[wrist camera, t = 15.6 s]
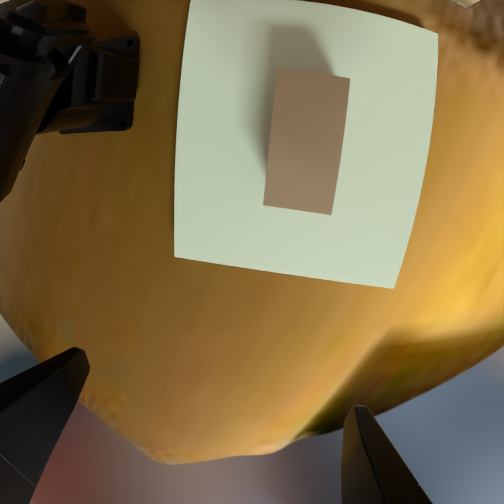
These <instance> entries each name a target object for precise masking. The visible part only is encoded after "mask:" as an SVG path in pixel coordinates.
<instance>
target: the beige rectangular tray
mask: <svg viewBox="0 0 504 504" xmlns="http://www.w3.org/2000/svg"><path fill="white" fill-rule="evenodd" d="M450 1H452V2H455V3H457V4H459V5H461V6H463V7H465V8H467V7H469V6H470V5H472V4H474V3H476V2H477V1H479V0H450Z"/></svg>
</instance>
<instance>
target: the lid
mask: <svg viewBox="0 0 504 504" xmlns="http://www.w3.org/2000/svg"><path fill="white" fill-rule="evenodd" d="M437 61H438V34H437V33H434V32H432V31H429V30H426V29H424V28H421V27H418V26H415V25H412V24H409V23H406V22H402V21H399V20H396V19H392V18H389V17H385V16H381V15H377V14H373V13H369V12H365V11H360V10H356V9H351V8H346V7H340V6H335V5H329V4H322V3H315V2H307V1H298V0H191V2H190V8H189V15H188V22H187V29H186V36H185V44H184V53H183V62H182V71H181V82H180V93H179V105H178V120H177V136H176V158H175V193H174V249H175V257H179V258H185V259H192V260H198V261H204V262H211V263H217V264H224V265H230V266H237V267H243V268H250V269H257V270H263V271H270V272H277V273H284V274H290V275H297V276H304V277H311V278H318V279H326V280H333V281H340V282H347V283H355V284H362V285H369V286H377V287H384V288H392V289H394V286H395V283H396V280H397V277H398V274H399V271H400V268H401V265H402V262H403V258H404V255H405V251H406V248H407V245H408V241H409V237H410V234H411V230H412V226H413V222H414V218H415V214H416V210H417V206H418V202H419V197H420V193H421V188H422V183H423V178H424V173H425V168H426V162H427V156H428V150H429V144H430V137H431V130H432V123H433V114H434V105H435V94H436V81H437Z"/></svg>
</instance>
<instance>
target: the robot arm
mask: <svg viewBox="0 0 504 504" xmlns="http://www.w3.org/2000/svg"><path fill="white" fill-rule="evenodd" d="M86 10H87V9H85V8H84V7H83V6H81V5H79V4H76V3H73V2H70V1H67V0H10V1H7V2H4V3H1V4H0V202H1V201H2V200H3V199H4V198H5V197H6V196H7V195H8V194H9V193H10V192H11V190H12V188H13V185H14V183H15V181H16V178H17V175H18V173H19V171H20V170H21V169H22V168H23V165H24V163H25V157H26V154H27V152H28V150H29V148H30V145H31V143H32V141H33V139H34V137H35V135H37V134H43V133H48V132H54V131H59V133H61V134H71V133H85V132H102V131H125V130H129V129H130V128H131V126H132V123H133V106H134V100H135V98H136V88H137V77H138V67H139V63H138V53H139V45H140V40H139V39H138V38H137V37H134V36H128V37H123V38H117V39H112V40H107V41H103V42H98V43H94V44H92V42H93V41H94V40H95V38H96V37H97V36H96V35H95V34H94V33H93V32H91V31H90V29H89V28H88V27H87V26H86V25H85V24H86V21H85V18H86ZM132 41H133V45H132V46H130V43H131V42H132ZM124 120H125V121H126V125H125V126H124V125H123V121H124ZM89 371H90V365H89V362H88V359H87V356H86V353H85V351H84V350H82V349H80V348H77V347H72V348H70V349H68V350H66V351H64V352H62V353H60V354H58V355H56V356H54V357H52V358H50V359H48V360H46V361H44V362H42V363H40V364H38V365H36V366H34V367H32V368H30V369H28V370H26V371H24V372H22V373H20V374H17V375H16V376H14V377H11V378H9V379H7V380H5V381H3V382H1V383H0V504H29V503H30V501H31V498H32V496H33V494H34V491H35V489H36V486H37V484H38V482H39V479H40V477H41V475H42V473H43V470H44V468H45V466H46V464H47V462H48V460H49V458H50V455H51V453H52V451H53V449H54V447H55V445H56V443H57V441H58V439H59V437H60V435H61V433H62V431H63V429H64V427H65V425H66V423H67V421H68V419H69V417H70V415H71V413H72V411H73V410H74V407H75V405H76V403H77V401H78V398H79V396H80V393H81V391H82V388H83V386H84V384H85V381H86V379H87V376H88V374H89ZM418 485H419V483H418V482H417V480H416V479H415V477H414V476H413V474H412V473H411V471H410V470H409V468H408V467H407V466H406V464H405V462H404V461H403V460H402V458H401V456H400V455H399V453H398V452H397V450H396V449H395V448H394V446H393V445H392V443H391V442H390V440H389V439H388V437H387V436H386V434H385V433H384V431H383V430H382V428H381V427H380V425H379V424H378V423H377V421H376V419H375V418H374V416H373V415H372V413H371V412H370V410H369V409H368V408H367V407H366V406H364V405H354V406H353V407H352V408H351V410H350V412H349V414H348V415H347V417H346V419H345V422H344V431H343V444H342V456H341V504H433V503H432V502H431V501H430V499H429V498H428V496H427V495H426V494H425V492H424V491H423V489H422V488H421V486H420V485H419V486H418Z"/></svg>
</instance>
